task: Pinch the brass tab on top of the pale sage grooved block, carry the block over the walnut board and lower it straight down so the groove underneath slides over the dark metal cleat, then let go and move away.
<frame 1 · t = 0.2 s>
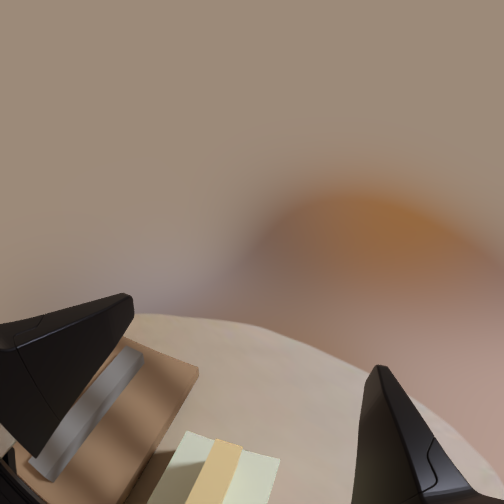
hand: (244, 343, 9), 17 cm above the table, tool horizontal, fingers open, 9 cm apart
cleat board: (96, 422, 18), on the table
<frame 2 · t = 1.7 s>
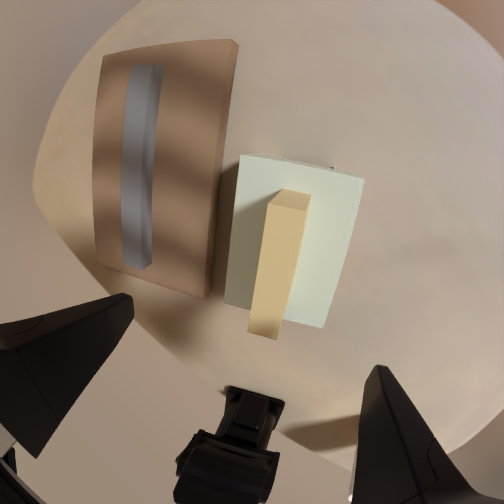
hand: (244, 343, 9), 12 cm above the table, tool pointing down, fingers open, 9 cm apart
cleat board: (153, 165, 21), on the table
sage block: (295, 229, 20), on the table
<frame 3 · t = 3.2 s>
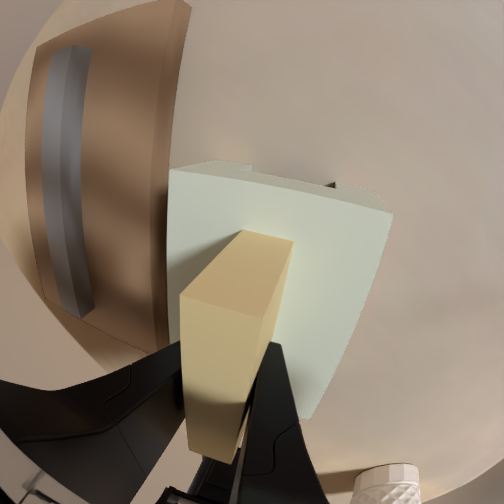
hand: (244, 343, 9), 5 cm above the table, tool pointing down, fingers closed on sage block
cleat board: (88, 182, 15), on the table
white cup: (386, 473, 19), on the table
sage block: (274, 276, 13), on the table, touching gripper
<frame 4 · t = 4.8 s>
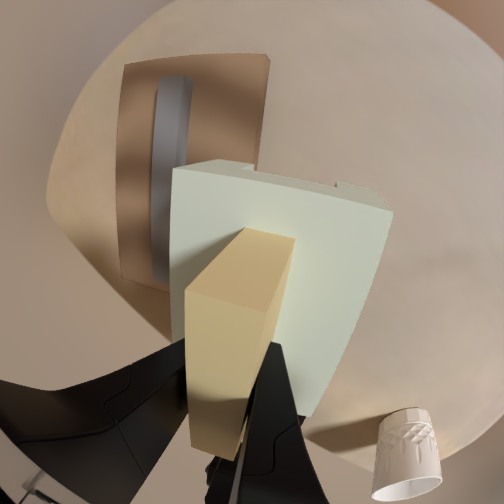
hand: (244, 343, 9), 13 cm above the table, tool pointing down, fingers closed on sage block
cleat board: (182, 179, 22), on the table
white cup: (403, 421, 26), on the table
sage block: (276, 274, 14), point 8 cm above the table, touching gripper
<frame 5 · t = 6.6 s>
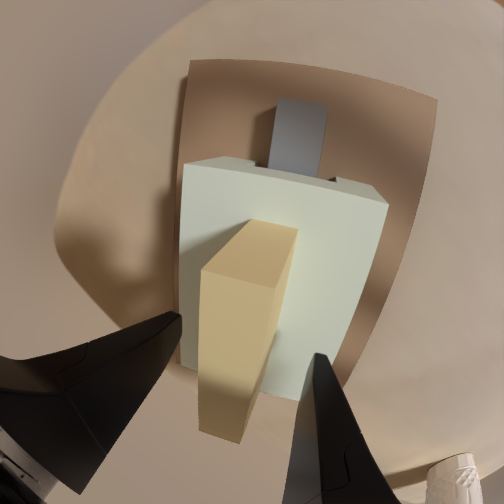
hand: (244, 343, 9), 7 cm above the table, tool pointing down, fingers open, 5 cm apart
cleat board: (283, 255, 16), on the table
white cup: (450, 463, 20), on the table
sage block: (278, 266, 14), point 1 cm above the table, touching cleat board
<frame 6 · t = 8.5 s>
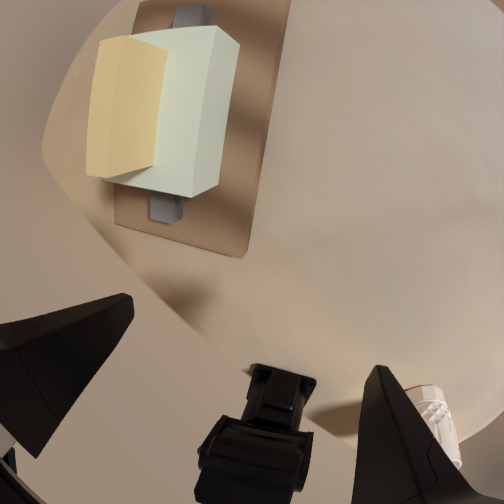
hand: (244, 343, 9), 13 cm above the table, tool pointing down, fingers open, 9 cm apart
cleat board: (191, 111, 19), on the table
white cup: (416, 401, 24), on the table
sage block: (181, 109, 17), point 1 cm above the table, touching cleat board
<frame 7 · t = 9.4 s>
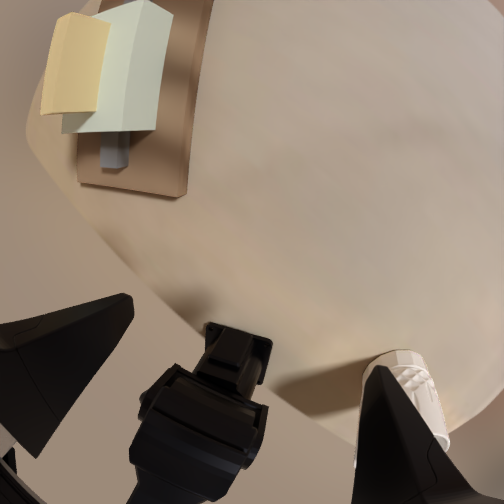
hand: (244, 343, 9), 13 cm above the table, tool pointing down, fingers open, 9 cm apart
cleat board: (139, 76, 19), on the table
white cup: (394, 372, 23), on the table
sage block: (128, 73, 18), point 1 cm above the table, touching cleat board
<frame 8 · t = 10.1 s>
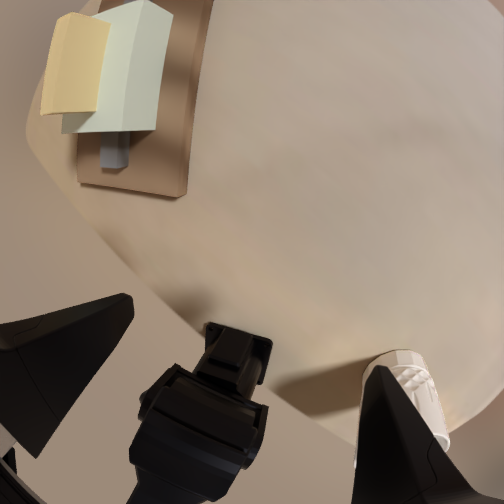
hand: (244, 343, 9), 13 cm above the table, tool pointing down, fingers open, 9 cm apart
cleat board: (139, 76, 19), on the table
white cup: (394, 372, 23), on the table
sage block: (128, 73, 18), point 1 cm above the table, touching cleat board
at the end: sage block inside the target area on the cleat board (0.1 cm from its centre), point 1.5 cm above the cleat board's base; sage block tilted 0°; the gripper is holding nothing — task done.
